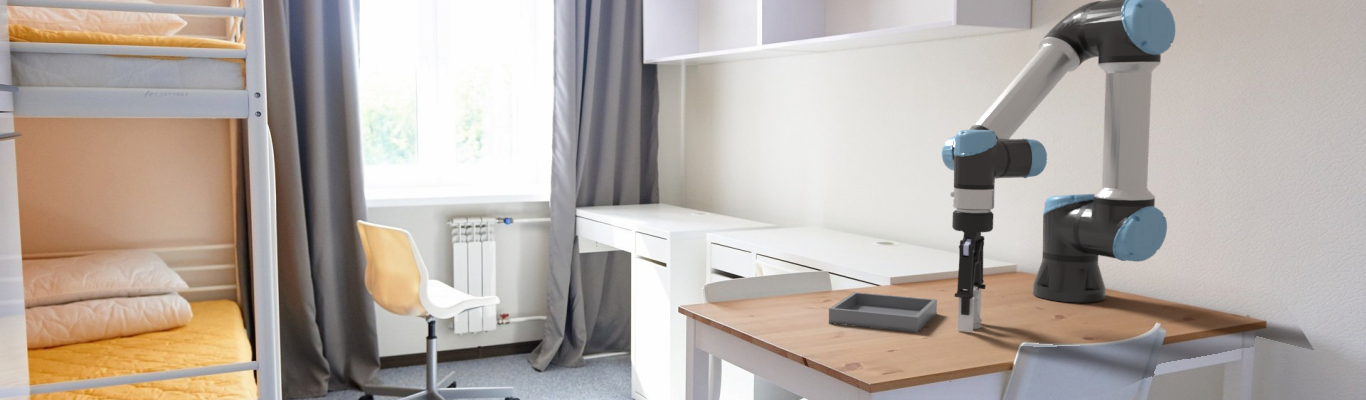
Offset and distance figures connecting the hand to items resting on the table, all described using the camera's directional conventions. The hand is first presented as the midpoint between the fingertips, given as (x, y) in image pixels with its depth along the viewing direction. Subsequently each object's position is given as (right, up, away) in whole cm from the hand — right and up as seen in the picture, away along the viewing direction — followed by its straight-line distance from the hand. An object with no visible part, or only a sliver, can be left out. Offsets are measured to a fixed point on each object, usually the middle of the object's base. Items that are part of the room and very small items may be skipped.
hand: (969, 326), depth 184 cm
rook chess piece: (0, -1, 0) cm, 0 cm away
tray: (-15, 0, +8) cm, 17 cm away
